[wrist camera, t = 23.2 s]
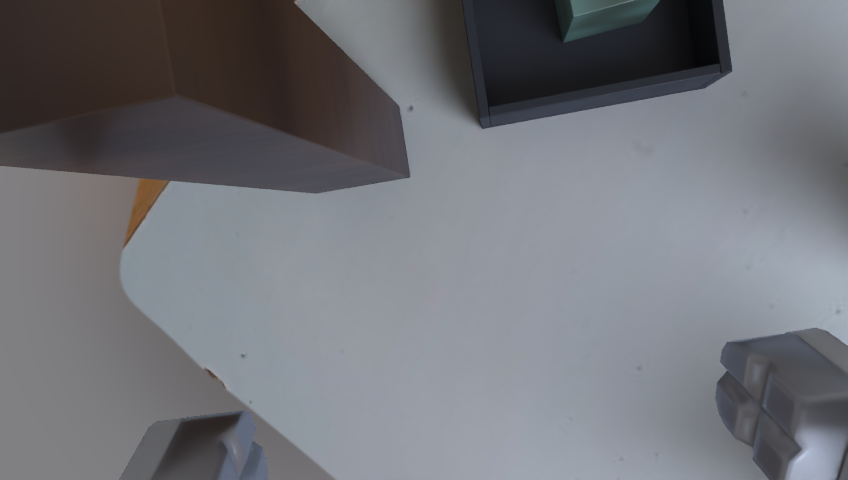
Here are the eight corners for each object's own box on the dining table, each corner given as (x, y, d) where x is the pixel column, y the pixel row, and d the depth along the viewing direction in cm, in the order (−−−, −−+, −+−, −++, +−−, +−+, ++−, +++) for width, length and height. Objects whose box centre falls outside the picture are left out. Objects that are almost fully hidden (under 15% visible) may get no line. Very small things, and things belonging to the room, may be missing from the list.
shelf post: (315, 193, 37) (-110, 156, 11) (304, 124, 37) (-154, -72, 11) (410, 177, 36) (174, 95, 10) (399, 105, 36) (131, -160, 10)
